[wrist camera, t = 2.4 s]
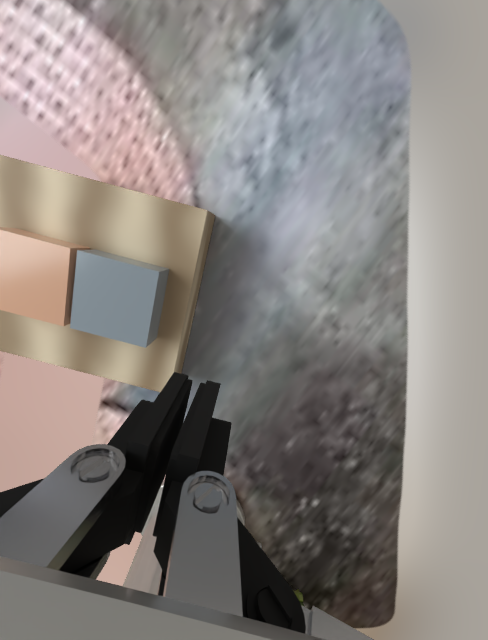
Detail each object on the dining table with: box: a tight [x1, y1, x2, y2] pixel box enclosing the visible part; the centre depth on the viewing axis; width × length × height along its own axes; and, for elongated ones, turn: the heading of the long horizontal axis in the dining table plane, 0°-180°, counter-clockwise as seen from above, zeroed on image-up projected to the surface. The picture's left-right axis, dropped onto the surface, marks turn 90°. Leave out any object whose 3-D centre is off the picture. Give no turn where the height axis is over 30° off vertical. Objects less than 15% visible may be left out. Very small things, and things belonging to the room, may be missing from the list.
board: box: [0, 155, 215, 392], centre depth 25 cm, size 16×16×4 cm
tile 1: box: [70, 249, 169, 348], centre depth 22 cm, size 6×6×2 cm
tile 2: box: [0, 227, 90, 326], centre depth 22 cm, size 6×6×2 cm
